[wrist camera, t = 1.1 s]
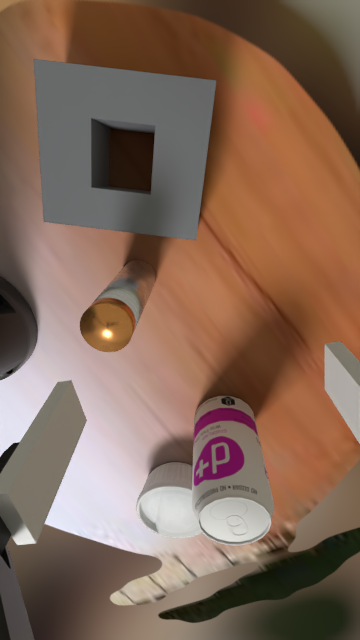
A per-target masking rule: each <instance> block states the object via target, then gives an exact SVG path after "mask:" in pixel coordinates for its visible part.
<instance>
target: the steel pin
mask: <svg viewBox="0 0 360 640" xmlns="http://www.w3.org/2000/svg"><path fill="white" fill-rule="evenodd" d="M155 281H156V275H155V272H154V270H153V268H152V267H151V266H150V265H149V264H148V263H146V262H144V261H141V260H134V261H131V262H129V263H127V264H126V265H125V266H124V268H123V269H122V270H121V271H120V272H119V273H118V274H117V276H116V277H115V278H114V279H113V280H112V281H111V283H110V284H109V285H108V286H107V287H106V288H105V289H104V291H103V292H102V293H101V294H100V295H99V296H98V297H97V299H96V300H95V301H94V302H93V303H92V304H91V306H90V307H89V308H88V309H87V310H86V311H85V313H84V314H83V315H82V317H81V321H80V330H81V334H82V336H83V338H84V339H85V341H86V342H87V343H88V344H89V345H90V346H92V347H93V348H95V349H97V350H100V351H103V352H115V351H118V350H121V349H122V348H124V347H125V346H126V345H127V344H128V343H129V341H130V339H131V337H132V335H133V332H134V330H135V328H136V325H137V323H138V321H139V319H140V316H141V314H142V312H143V309H144V307H145V305H146V303H147V300H148V298H149V296H150V293H151V291H152V289H153V287H154V284H155Z"/></svg>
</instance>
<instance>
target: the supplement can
mask: <svg viewBox="0 0 360 640" xmlns="http://www.w3.org/2000/svg"><path fill="white" fill-rule="evenodd" d="M192 510H193V513H194V516H195V518H196V520H197V522H198V524H199V527H200V530H201V531H202V532H203V533H204V534H205V536H206V537H208V538H210V539H212V540H213V541H215V542H218V543H222V544H226V545H244V544H249V543H253V542H255V541H257V540H259V539H261V538H262V537H263V536H264V535H265V534H266V533H267V532H268V531H269V528H270V525H271V517H272V514H273V511H274V503H273V497H272V493H271V489H270V484H269V480H268V475H267V471H266V466H265V462H264V457H263V453H262V449H261V444H260V440H259V435H258V431H257V426H256V422H255V417H254V413H253V411H252V409H251V408H250V406H249V405H248V404H247V403H245V402H244V401H242V400H241V399H239V398H235V397H232V396H217V397H214V398H211V399H208V400H207V401H205V402H204V403H202V404H201V405H200V406H199V408H198V409H197V411H196V412H195V418H194V440H193V476H192Z"/></svg>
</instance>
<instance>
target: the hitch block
mask: <svg viewBox="0 0 360 640" xmlns="http://www.w3.org/2000/svg"><path fill="white" fill-rule="evenodd" d="M34 73H35V89H36V105H37V121H38V137H39V153H40V169H41V185H42V201H43V217H44V222H49V223H57V224H65V225H74V226H82V227H90V228H98V229H106V230H115V231H123V232H131V233H139V234H147V235H156V236H164V237H172V238H180V239H188V240H196V237H197V229H198V221H199V214H200V206H201V198H202V190H203V182H204V175H205V167H206V159H207V151H208V143H209V136H210V128H211V120H212V112H213V104H214V97H215V89H216V81H217V80H208V79H200V78H191V77H183V76H174V75H166V74H157V73H149V72H140V71H132V70H123V69H114V68H106V67H97V66H89V65H80V64H72V63H63V62H55V61H46V60H38V59H34ZM110 129H118V130H127V131H135V132H143V133H152V134H155V139H154V153H153V168H152V183H151V191H146V190H137V189H129V188H121V187H113V186H109V178H110Z"/></svg>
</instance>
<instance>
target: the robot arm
mask: <svg viewBox="0 0 360 640" xmlns="http://www.w3.org/2000/svg"><path fill="white" fill-rule="evenodd" d="M36 341H37V327H36V322H35V318H34V316H33V313H32V311H31V309H30V307H29V305H28V303H27V302H26V300H25V299H24V297H23V296H22V295H21V294H20V293H19V291H18V290H17V289H16V288H15V287H14V286H12V285H11V284H10V283H9V282H8V281H6V280H5V279H4V278H2V277H1V276H0V380H2V379H5V378H7V377H9V376H11V375H12V374H14V373H15V372H16V371H17V370H18V369H19V368H21V366H22V365H23V364H24V363H25V362H26V361H27V360H28V359H29V358H30V356H31V355H32V353H33V351H34V349H35V346H36ZM325 390H326V392H327V393H328V395H329V397H330V398H331V400H332V401H333V403H334V404H335V406H336V408H337V409H338V411H339V412H340V414H341V415H342V417H343V418H344V420H345V422H346V423H347V425H348V426H349V428H350V429H351V431H352V433H353V434H354V436H355V437H356V439H357V440H358V442H359V443H360V362H359V361H358V360H357V358H356V357H355V356H354V355H353V354H352V353H351V352H350V351H349V350H348V349H347V348H346V347H345V345H344V344H343V343H342V342H341V341H340V342H333V343H327V344H325ZM86 421H87V420H86V417H85V415H84V412H83V409H82V407H81V404H80V402H79V399H78V396H77V394H76V391H75V389H74V386H73V383H72V381H71V380H70V381H63V382H58V383H57V384H56V386H55V387H54V389H53V391H52V392H51V394H50V395H49V397H48V399H47V400H46V402H45V403H44V405H43V406H42V408H41V410H40V411H39V413H38V414H37V416H36V418H35V419H34V421H33V422H32V424H31V426H30V427H29V429H28V430H27V432H26V433H25V435H24V437H23V438H22V440H21V441H20V442H19V443H13V444H12V445H11V446H10V447H9V448H8V449H7V450H6V451H5V452H4V453H3V454H2V455H1V457H0V640H34V637H33V633H32V630H31V626H30V623H29V619H28V616H27V612H26V609H25V605H24V602H23V598H22V595H21V591H20V588H19V584H18V581H17V577H16V574H15V570H14V567H13V563H12V559H11V556H10V553H9V550H8V549H7V547H6V544H7V542H8V540H9V538H10V536H12V538H13V539H14V541H15V542H16V544H17V545H22V544H33V543H36V542H37V540H38V537H39V535H40V533H41V530H42V528H43V525H44V523H45V520H46V518H47V516H48V513H49V511H50V508H51V506H52V503H53V501H54V499H55V496H56V494H57V491H58V489H59V486H60V484H61V482H62V479H63V477H64V474H65V472H66V470H67V467H68V465H69V462H70V460H71V457H72V455H73V453H74V450H75V448H76V445H77V443H78V440H79V438H80V436H81V433H82V431H83V428H84V426H85V423H86Z"/></svg>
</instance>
